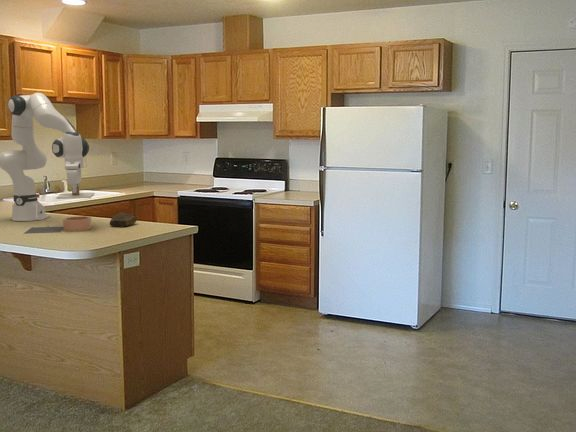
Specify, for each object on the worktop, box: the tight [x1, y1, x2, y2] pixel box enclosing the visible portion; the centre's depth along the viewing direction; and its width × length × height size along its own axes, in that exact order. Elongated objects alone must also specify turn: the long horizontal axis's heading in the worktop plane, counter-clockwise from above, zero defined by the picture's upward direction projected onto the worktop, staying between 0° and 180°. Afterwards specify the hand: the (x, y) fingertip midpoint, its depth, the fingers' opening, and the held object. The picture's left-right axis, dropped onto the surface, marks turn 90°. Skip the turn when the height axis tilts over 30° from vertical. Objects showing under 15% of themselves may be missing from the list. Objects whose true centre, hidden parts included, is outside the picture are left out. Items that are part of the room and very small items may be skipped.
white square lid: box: [55, 186, 95, 200], centre depth 324 cm, size 16×16×5 cm
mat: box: [22, 225, 64, 235], centre depth 324 cm, size 19×17×1 cm
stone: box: [109, 212, 138, 228], centre depth 340 cm, size 10×14×6 cm
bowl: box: [62, 215, 93, 232], centre depth 326 cm, size 13×13×6 cm
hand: (75, 192), depth 324 cm, fingers closed on white square lid, 3 cm apart
